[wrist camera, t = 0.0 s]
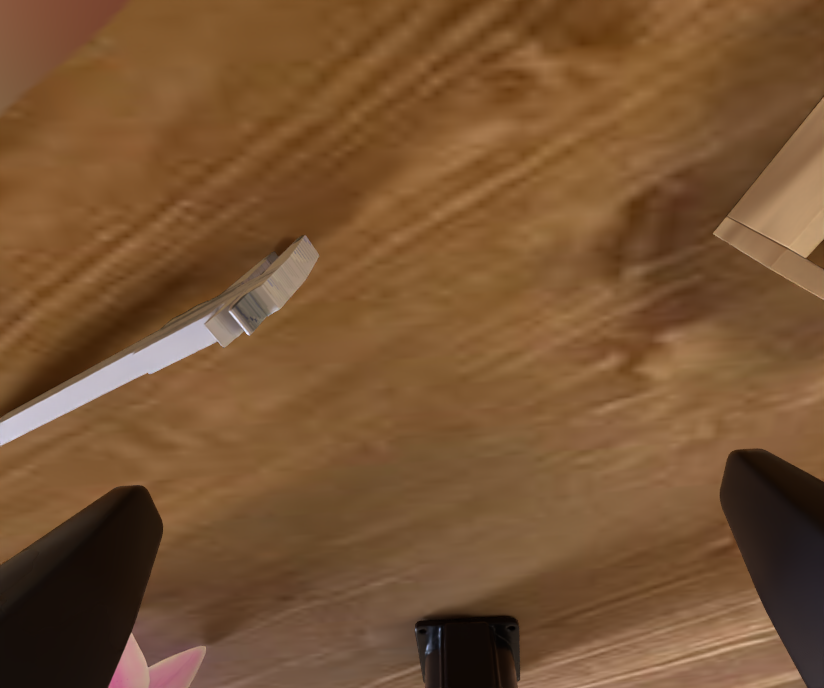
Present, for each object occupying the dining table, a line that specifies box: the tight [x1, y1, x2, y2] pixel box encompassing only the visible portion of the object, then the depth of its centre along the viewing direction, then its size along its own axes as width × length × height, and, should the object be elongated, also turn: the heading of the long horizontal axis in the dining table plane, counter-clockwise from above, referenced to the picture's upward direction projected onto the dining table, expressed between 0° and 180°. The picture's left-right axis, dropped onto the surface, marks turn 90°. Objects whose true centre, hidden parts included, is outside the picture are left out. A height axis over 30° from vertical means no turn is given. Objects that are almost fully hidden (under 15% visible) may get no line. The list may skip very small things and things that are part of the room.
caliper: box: [0, 235, 319, 446], centre depth 21 cm, size 20×1×6 cm, turn 121°
